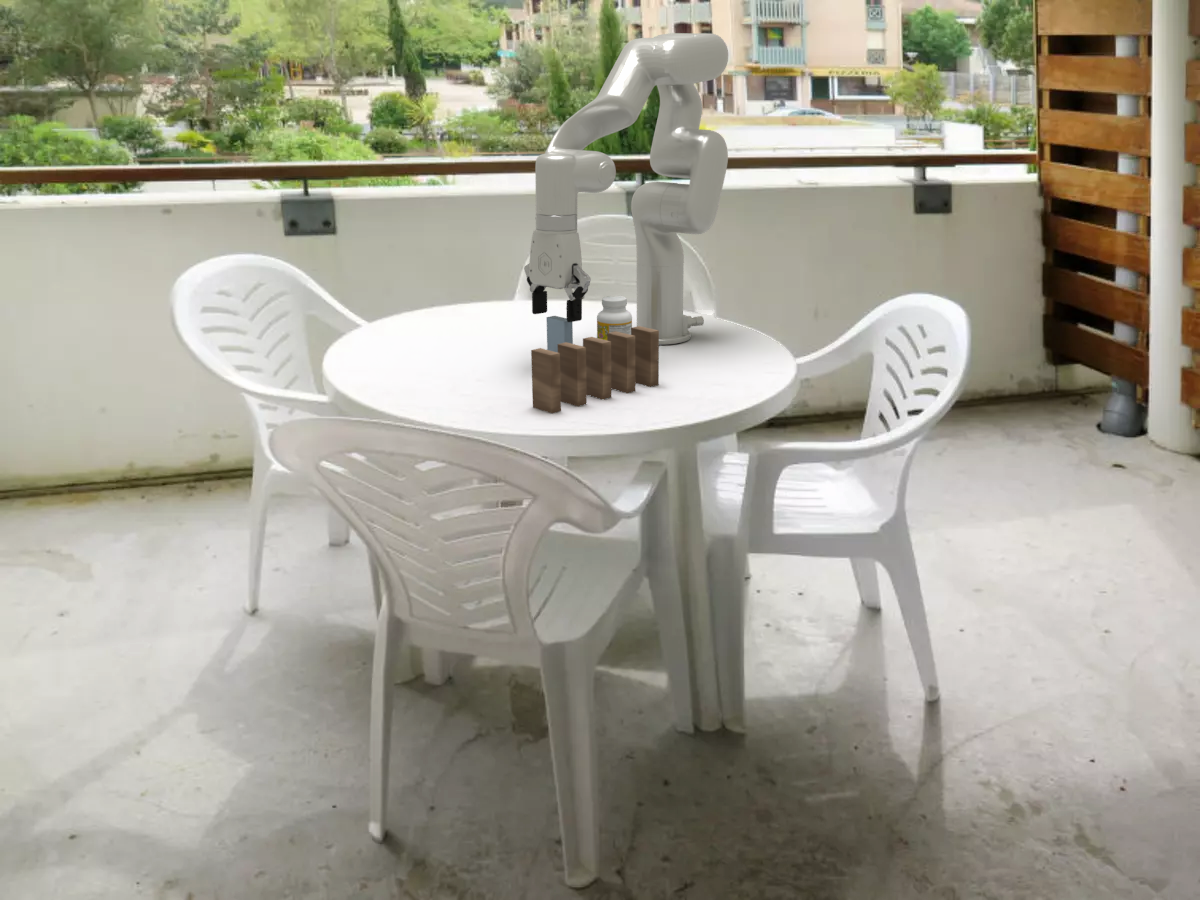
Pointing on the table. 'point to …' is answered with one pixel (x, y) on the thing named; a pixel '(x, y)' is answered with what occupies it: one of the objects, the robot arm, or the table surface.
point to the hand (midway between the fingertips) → (556, 317)
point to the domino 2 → (558, 332)
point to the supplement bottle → (613, 317)
